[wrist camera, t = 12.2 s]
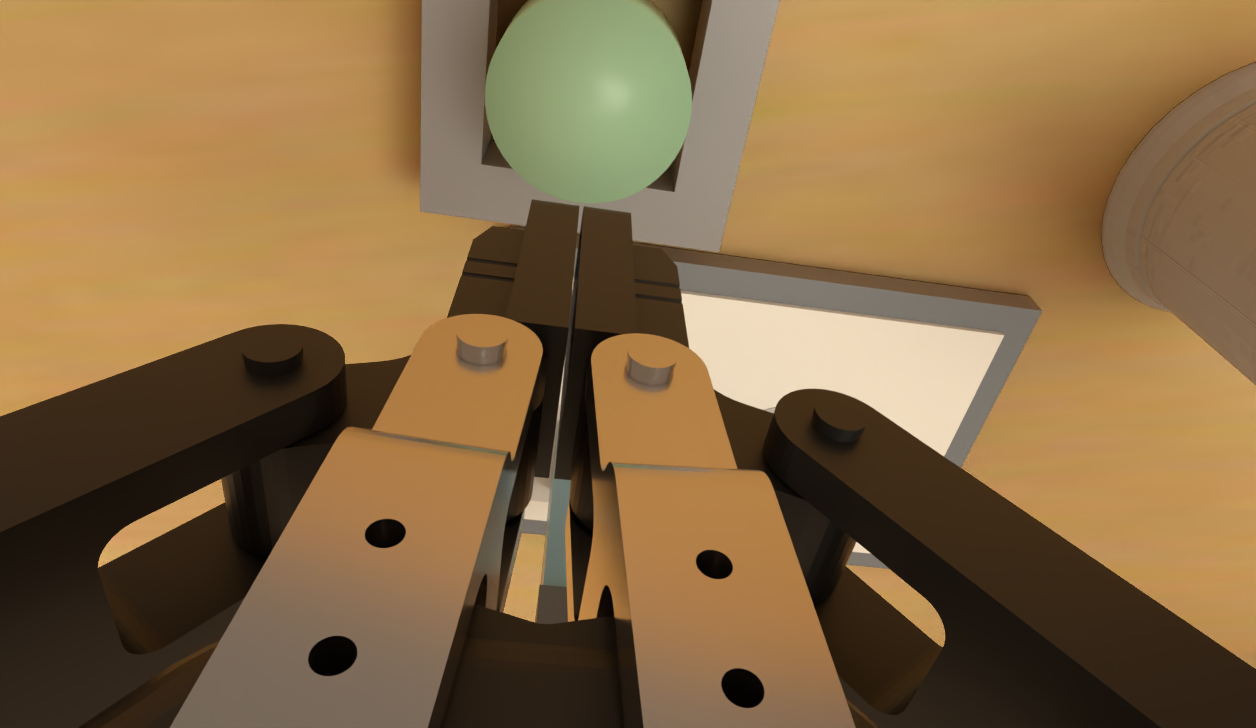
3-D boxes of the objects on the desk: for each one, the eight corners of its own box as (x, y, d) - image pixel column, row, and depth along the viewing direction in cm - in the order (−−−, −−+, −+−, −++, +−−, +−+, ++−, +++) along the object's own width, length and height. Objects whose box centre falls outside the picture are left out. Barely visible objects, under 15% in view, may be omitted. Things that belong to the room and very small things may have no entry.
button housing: (784, -89, 21) (799, -82, 19) (712, 224, 26) (719, 252, 24) (438, -151, 20) (422, -149, 18) (433, 186, 25) (420, 211, 23)
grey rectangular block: (654, 428, 29) (668, 637, 21) (638, 500, 31) (646, 713, 23) (556, 418, 28) (535, 626, 21) (547, 490, 30) (524, 704, 23)
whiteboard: (1029, 296, 27) (1045, 314, 26) (900, 552, 35) (909, 575, 34) (510, 226, 26) (506, 242, 25) (488, 511, 33) (484, 533, 32)
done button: (701, -7, 20) (711, 13, 18) (666, 180, 23) (671, 216, 21) (503, -40, 19) (491, -24, 17) (492, 155, 22) (479, 189, 20)
